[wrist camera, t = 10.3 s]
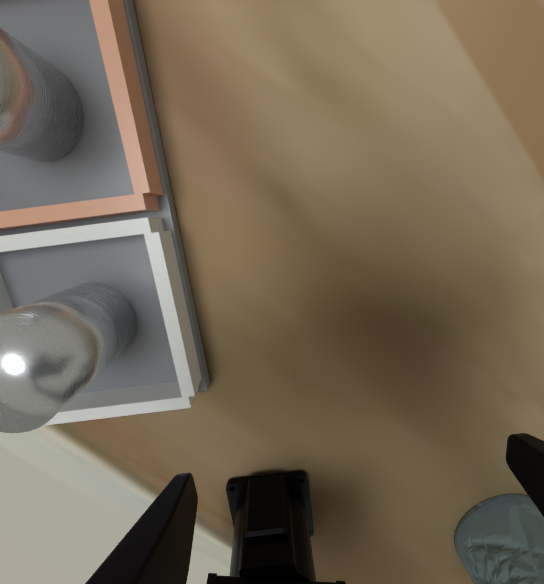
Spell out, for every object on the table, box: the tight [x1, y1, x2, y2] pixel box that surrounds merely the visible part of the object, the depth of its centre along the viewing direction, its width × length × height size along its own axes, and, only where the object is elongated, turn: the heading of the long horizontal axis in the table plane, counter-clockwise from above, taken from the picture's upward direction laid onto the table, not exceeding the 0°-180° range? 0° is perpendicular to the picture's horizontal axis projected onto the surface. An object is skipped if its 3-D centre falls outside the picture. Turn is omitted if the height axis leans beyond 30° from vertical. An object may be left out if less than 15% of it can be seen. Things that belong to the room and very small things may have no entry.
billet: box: [0, 283, 138, 433], centre depth 15 cm, size 5×5×7 cm
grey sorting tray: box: [0, 0, 210, 425], centre depth 16 cm, size 24×12×3 cm, turn 7°
